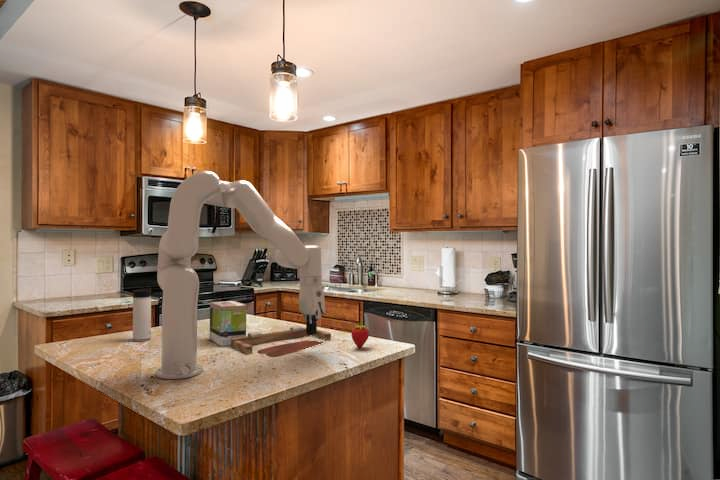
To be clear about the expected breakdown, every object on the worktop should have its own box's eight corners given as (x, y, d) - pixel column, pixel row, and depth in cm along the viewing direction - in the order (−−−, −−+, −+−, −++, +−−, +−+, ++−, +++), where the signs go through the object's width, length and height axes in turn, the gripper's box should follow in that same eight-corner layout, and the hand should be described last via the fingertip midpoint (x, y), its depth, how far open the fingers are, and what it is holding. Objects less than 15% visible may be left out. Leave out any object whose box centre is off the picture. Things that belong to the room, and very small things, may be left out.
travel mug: (155, 339, 171) (155, 287, 171) (138, 342, 165) (139, 289, 165) (145, 337, 174) (145, 286, 174) (129, 340, 168) (129, 288, 168)
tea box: (247, 343, 165) (247, 304, 165) (220, 347, 159) (220, 306, 159) (234, 336, 177) (234, 299, 177) (208, 339, 172) (208, 301, 172)
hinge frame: (330, 340, 172) (330, 329, 172) (246, 354, 149) (247, 342, 149) (311, 334, 182) (311, 324, 182) (230, 346, 160) (230, 335, 160)
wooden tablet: (274, 359, 146) (274, 354, 146) (255, 354, 152) (255, 349, 152) (329, 344, 166) (329, 340, 166) (310, 340, 173) (310, 336, 173)
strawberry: (372, 347, 160) (372, 320, 160) (361, 352, 154) (361, 323, 154) (359, 345, 163) (359, 318, 163) (347, 349, 157) (347, 321, 157)
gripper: (332, 281, 148) (333, 336, 148) (308, 278, 159) (309, 329, 160) (313, 283, 143) (314, 339, 143) (290, 280, 155) (291, 332, 155)
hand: (311, 334), depth 152 cm, fingers closed
